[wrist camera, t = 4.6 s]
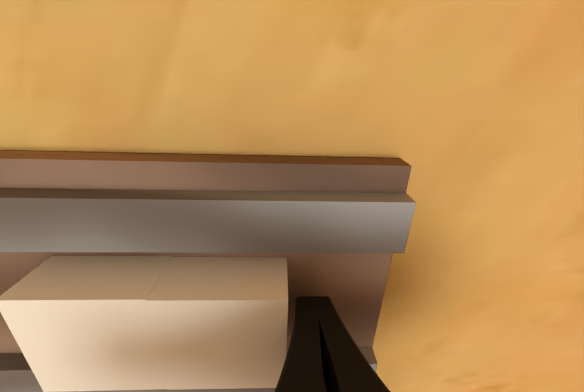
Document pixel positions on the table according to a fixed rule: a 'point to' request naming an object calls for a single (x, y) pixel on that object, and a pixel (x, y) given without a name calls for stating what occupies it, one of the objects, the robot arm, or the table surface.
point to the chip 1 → (88, 322)
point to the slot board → (209, 224)
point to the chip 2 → (221, 321)
